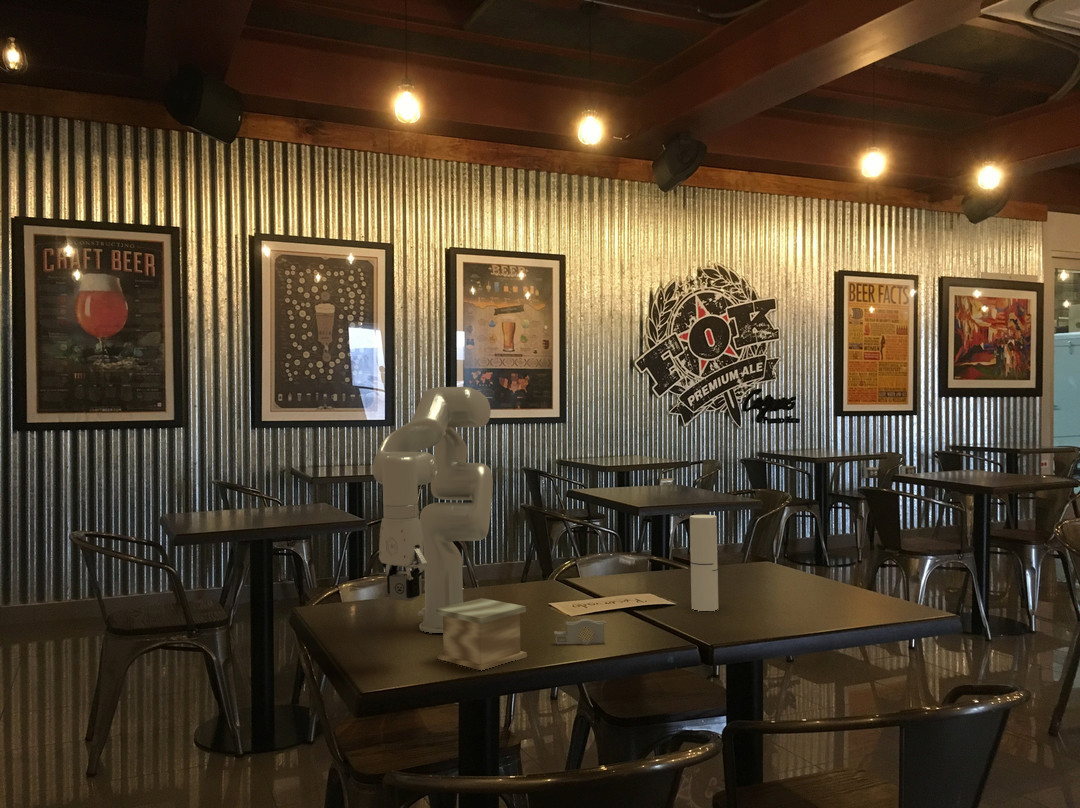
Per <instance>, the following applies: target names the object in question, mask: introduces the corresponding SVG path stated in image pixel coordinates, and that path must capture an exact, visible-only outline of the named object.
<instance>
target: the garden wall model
mask: <svg viewBox="0 0 1080 808" xmlns="http://www.w3.org/2000/svg"><path fill="white" fill-rule="evenodd" d="M606 623H607V622H606V620H598V621H597V620H596V621H595V620H593V619H592V618H591V619H590V618H587V617H585V618H581V619H580V620H579V619H578V620H577V621H565V625H566V626H567V627H566V630H564V631H563V630H562V631H559V630H558V631H556V630H554V631H553V634H554V635H555V637H554V638H555V640H554V641H555V643H554V644H555V645H556V644H557V645H591V644H593V645H594V644H605V640H606V639H605V625H606Z"/></svg>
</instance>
